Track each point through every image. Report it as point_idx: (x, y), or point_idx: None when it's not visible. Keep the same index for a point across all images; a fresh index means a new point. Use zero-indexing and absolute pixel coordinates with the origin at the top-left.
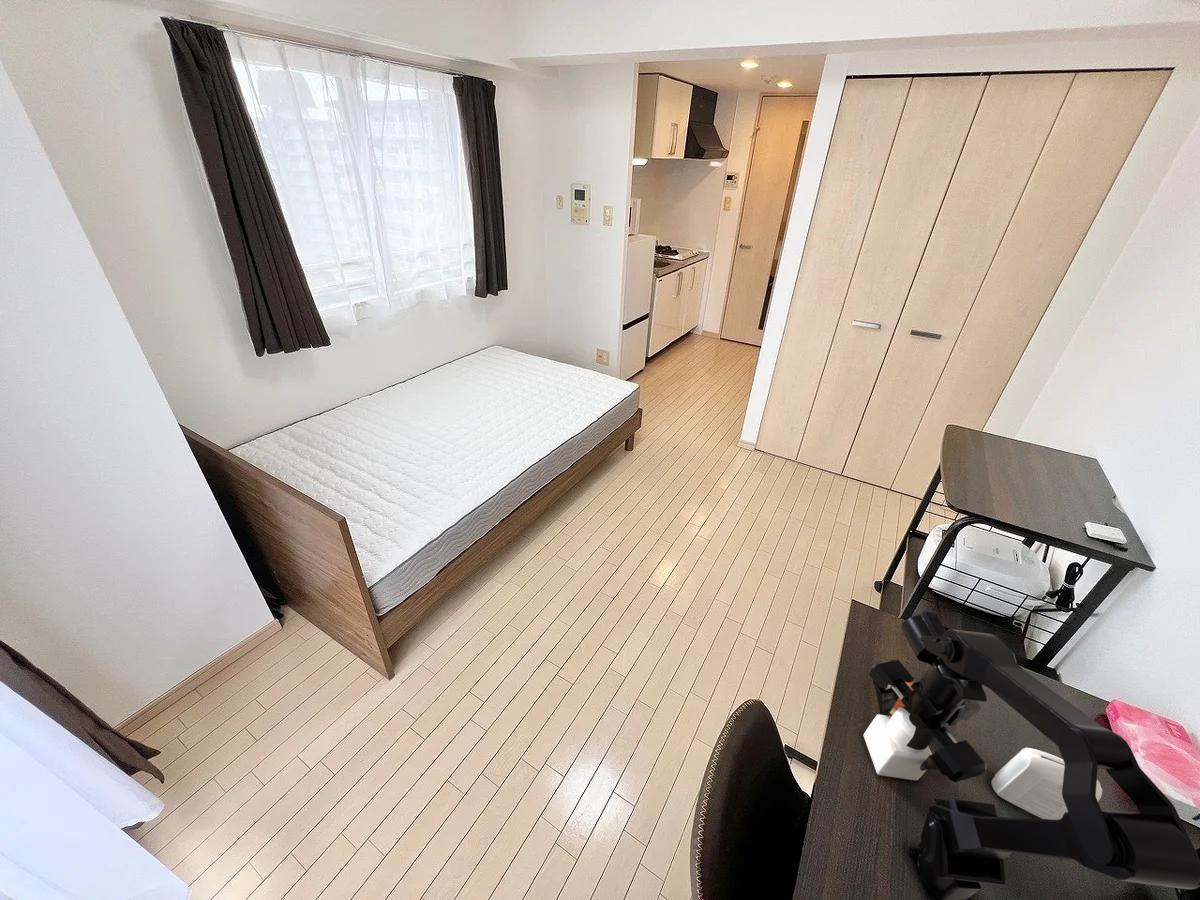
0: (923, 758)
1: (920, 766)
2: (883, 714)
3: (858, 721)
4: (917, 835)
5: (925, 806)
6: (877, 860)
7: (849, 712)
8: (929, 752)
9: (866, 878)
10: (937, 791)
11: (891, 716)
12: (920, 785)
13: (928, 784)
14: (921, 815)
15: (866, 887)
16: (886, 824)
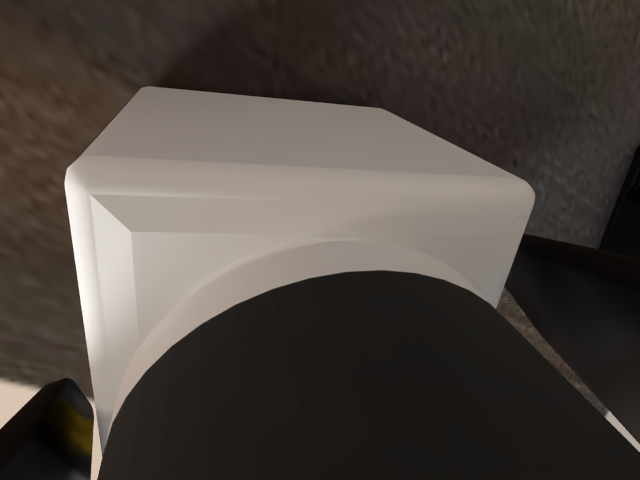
0: (500, 287)
1: (527, 314)
2: (86, 452)
3: (65, 305)
4: (562, 225)
5: (490, 132)
6: (573, 371)
7: (14, 337)
8: (473, 215)
9: (592, 404)
10: (442, 10)
11: (105, 430)
12: (405, 103)
13: (404, 47)
14: (514, 173)
15: (605, 407)
16: (507, 320)
